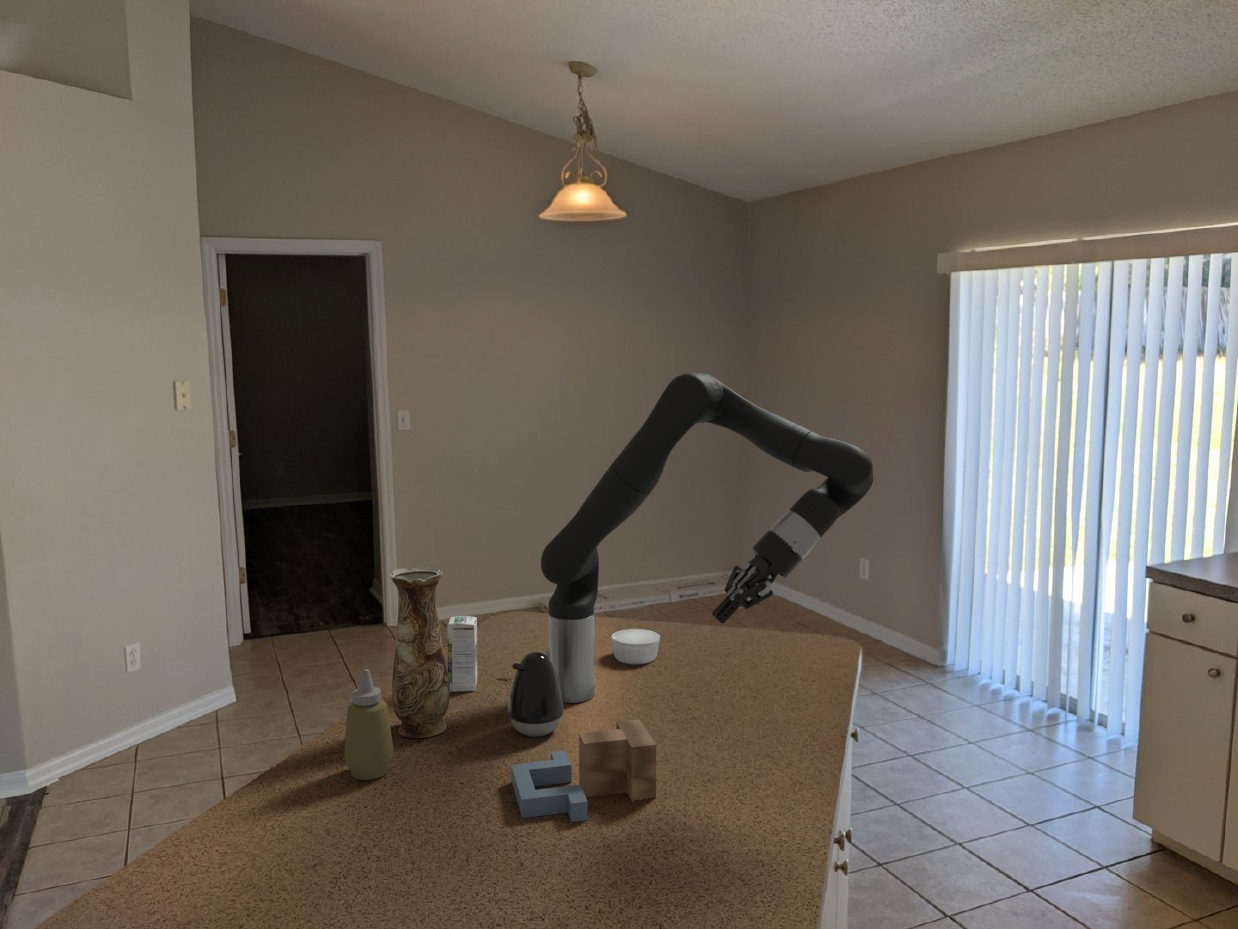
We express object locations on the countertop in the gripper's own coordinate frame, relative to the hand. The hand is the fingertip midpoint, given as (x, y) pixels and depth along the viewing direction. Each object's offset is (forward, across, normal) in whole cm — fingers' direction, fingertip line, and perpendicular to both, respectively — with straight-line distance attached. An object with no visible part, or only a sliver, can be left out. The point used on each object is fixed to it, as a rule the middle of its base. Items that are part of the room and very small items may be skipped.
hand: (717, 619), depth 156 cm
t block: (+31, +4, +5) cm, 32 cm away
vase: (+52, -28, -16) cm, 61 cm away
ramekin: (+18, -55, +19) cm, 61 cm away
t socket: (+39, +4, -3) cm, 40 cm away
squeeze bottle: (+59, -11, -22) cm, 64 cm away
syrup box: (+46, -47, -9) cm, 66 cm away
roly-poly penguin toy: (+38, -21, -1) cm, 43 cm away
